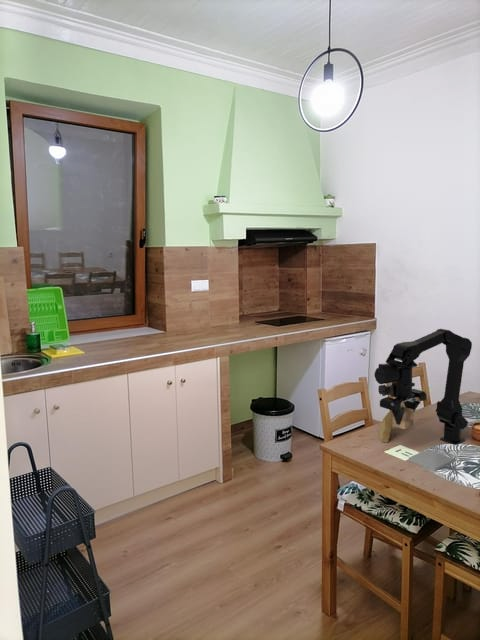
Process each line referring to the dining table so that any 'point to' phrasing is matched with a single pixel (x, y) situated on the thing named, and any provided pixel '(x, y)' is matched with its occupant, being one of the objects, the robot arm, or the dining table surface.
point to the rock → (386, 427)
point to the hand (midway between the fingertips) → (402, 422)
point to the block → (405, 419)
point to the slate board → (431, 460)
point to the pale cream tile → (401, 452)
